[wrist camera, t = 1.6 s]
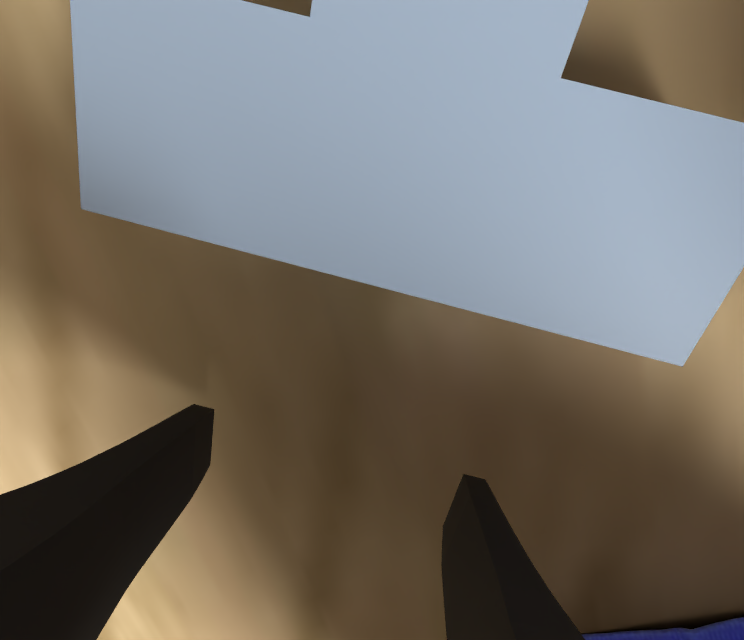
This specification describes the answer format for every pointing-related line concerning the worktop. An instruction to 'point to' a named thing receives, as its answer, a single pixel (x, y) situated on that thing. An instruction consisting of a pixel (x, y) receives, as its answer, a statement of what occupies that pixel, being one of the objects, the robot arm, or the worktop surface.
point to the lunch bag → (680, 633)
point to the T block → (415, 158)
